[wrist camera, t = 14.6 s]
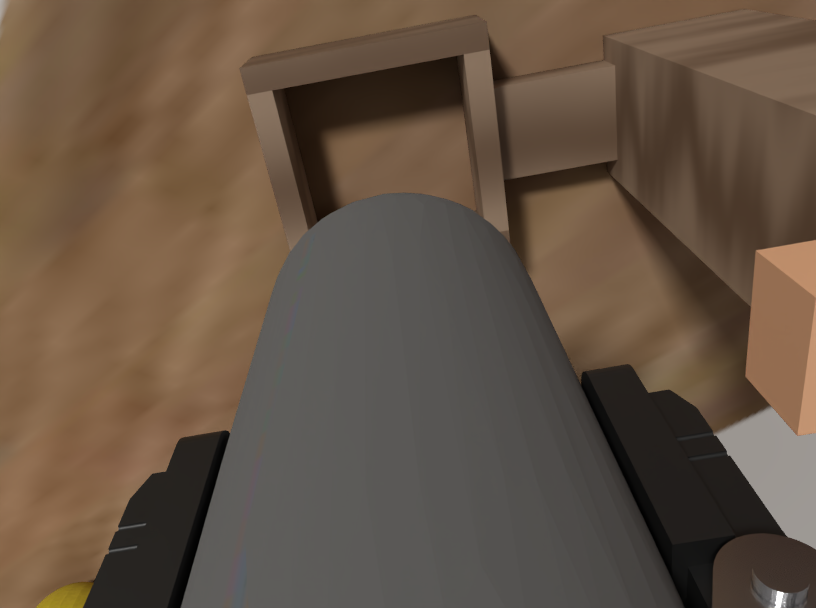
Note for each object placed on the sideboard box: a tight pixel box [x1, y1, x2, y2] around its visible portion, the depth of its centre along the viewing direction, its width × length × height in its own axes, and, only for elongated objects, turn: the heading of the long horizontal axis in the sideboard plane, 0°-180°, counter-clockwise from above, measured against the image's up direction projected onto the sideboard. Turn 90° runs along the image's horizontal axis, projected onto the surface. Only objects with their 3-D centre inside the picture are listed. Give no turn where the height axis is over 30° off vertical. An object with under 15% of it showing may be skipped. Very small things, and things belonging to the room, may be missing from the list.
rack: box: [239, 9, 816, 307], centre depth 22 cm, size 10×21×18 cm, turn 100°
